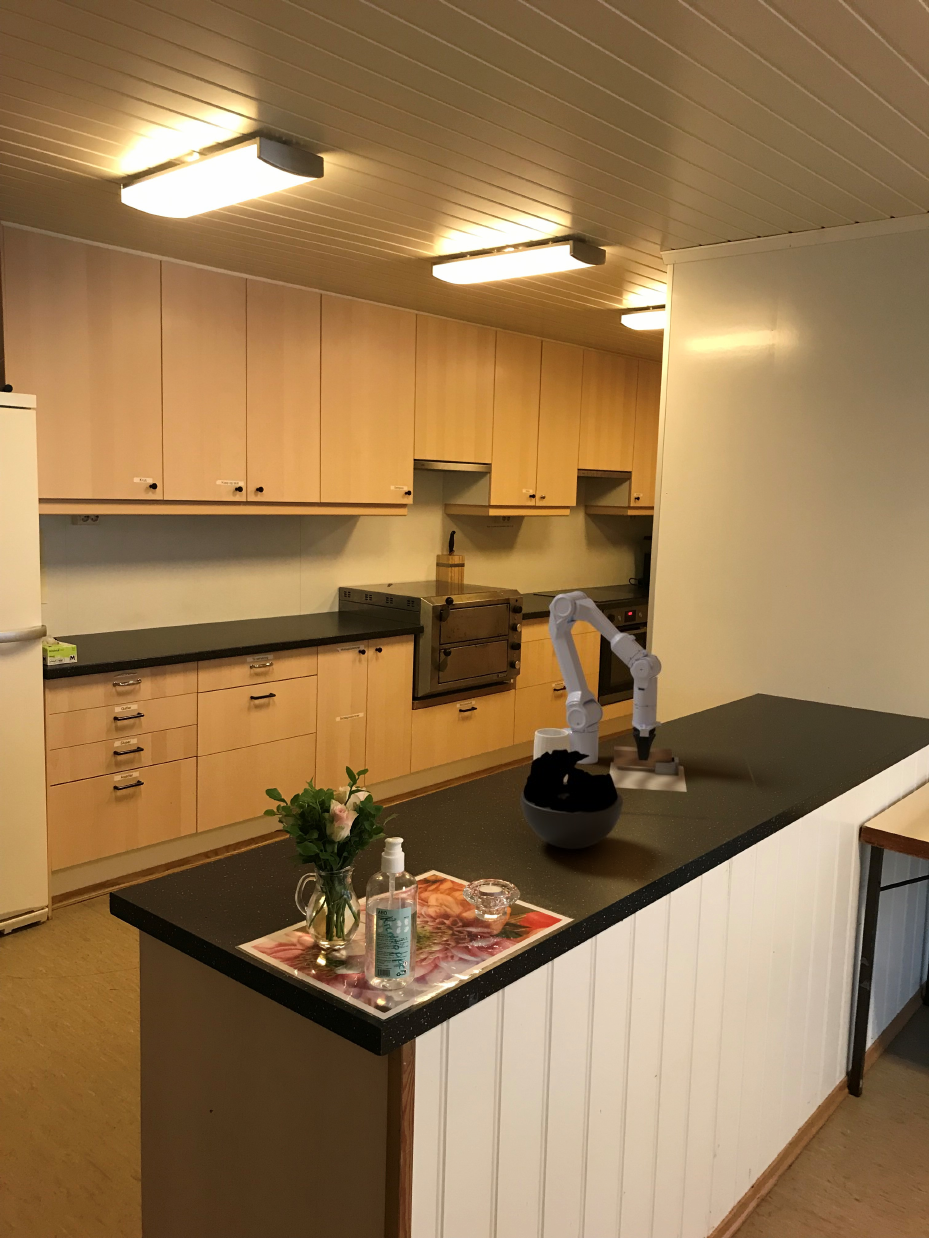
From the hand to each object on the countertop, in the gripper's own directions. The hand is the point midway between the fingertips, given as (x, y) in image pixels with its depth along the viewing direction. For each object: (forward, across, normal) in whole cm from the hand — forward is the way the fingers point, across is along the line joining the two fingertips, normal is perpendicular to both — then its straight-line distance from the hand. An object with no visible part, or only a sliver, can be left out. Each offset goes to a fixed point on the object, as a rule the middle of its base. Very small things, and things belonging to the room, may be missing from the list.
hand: (643, 757), depth 244 cm
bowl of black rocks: (+4, -54, +14) cm, 56 cm away
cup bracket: (+3, 0, -6) cm, 7 cm away
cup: (+4, -20, +21) cm, 29 cm away
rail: (+2, 0, 0) cm, 2 cm away
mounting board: (+4, -6, -1) cm, 7 cm away
